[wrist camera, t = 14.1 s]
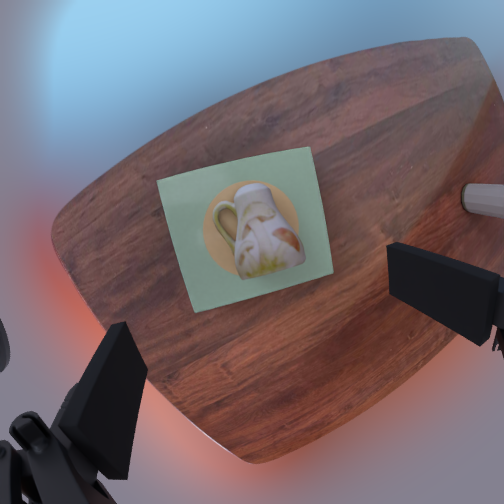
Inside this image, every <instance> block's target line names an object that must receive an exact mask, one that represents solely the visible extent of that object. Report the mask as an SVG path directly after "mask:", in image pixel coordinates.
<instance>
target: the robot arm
mask: <svg viewBox="0 0 504 504" xmlns="http://www.w3.org/2000/svg"><path fill="white" fill-rule="evenodd" d="M386 247H387V259H388V273H389V294H391V295H392V296H394V297H396V298H398V299H399V300H401V301H403V302H405V303H407V304H408V305H410V306H412V307H414V308H415V309H417V310H419V311H421V312H422V313H424V314H426V315H428V316H429V317H431V318H433V319H434V320H436V321H438V322H440V323H441V324H443V325H445V326H446V327H448V328H450V329H451V330H453V331H455V332H456V333H458V334H460V335H462V336H463V337H465V338H467V339H468V340H470V341H472V342H473V343H475V344H476V345H478V346H481V345H482V344H483V343H484V342H486V341H487V340H488V339H489V338H490V334H491V329H492V325H495V326H497V331H496V335H495V339H494V343H493V347H492V351H495V347H496V345H497V344H499V346H498V350H501V351H502V354H503V358H504V278H503V277H500V275H499V274H497V273H494V272H491V271H488V270H485V269H482V268H479V267H476V266H473V265H470V264H467V263H464V262H461V261H458V260H455V259H452V258H449V257H446V256H442V255H439V254H436V253H433V252H430V251H426V250H423V249H420V248H416V247H413V246H409V245H406V244H403V243H399V242H395V243H393V244H390V245H387V246H386ZM147 371H148V368H147V366H146V365H145V363H144V361H143V359H142V356H141V354H140V352H139V350H138V348H137V346H136V344H135V342H134V340H133V337H132V335H131V333H130V331H129V328H128V326H127V324H126V322H121V323H117V324H112V325H111V326H110V328H109V330H108V331H107V333H106V335H105V336H104V338H103V340H102V341H101V343H100V345H99V347H98V349H97V350H96V352H95V354H94V355H93V357H92V359H91V361H90V363H89V365H88V366H87V368H86V370H85V372H84V374H83V375H82V377H81V379H80V381H79V383H76V384H75V385H74V386H73V387H72V388H71V389H70V391H69V392H68V394H67V396H66V397H65V399H64V400H65V402H63V403H62V405H61V409H59V411H58V413H57V415H56V417H55V419H54V421H53V423H52V425H51V428H50V429H49V428H48V427H47V426H46V424H45V423H44V422H43V420H42V419H41V418H40V417H39V415H38V414H37V413H35V412H33V411H30V412H25V413H23V414H21V415H19V416H18V417H17V418H16V419H15V420H14V421H13V422H12V424H11V426H10V428H9V433H10V435H11V436H12V437H13V438H14V439H15V440H16V441H17V443H18V444H19V445H20V446H21V447H22V448H23V449H22V450H15V449H14V447H13V446H12V445H11V444H10V443H9V442H8V441H6V440H2V441H0V504H27V503H26V502H25V501H23V500H22V494H24V495H25V496H26V497H27V498H28V499H29V504H117V503H116V502H115V501H114V499H113V498H112V497H111V495H110V494H109V492H108V491H107V490H106V488H105V487H104V485H103V484H102V483H101V482H100V481H99V480H98V479H97V473H98V470H99V471H100V472H101V473H102V474H103V475H104V476H105V477H106V478H108V479H113V480H127V479H128V472H129V465H130V458H131V452H132V446H133V439H134V433H135V428H136V423H137V418H138V412H139V408H140V403H141V398H142V393H143V389H144V384H145V380H146V376H147Z"/></svg>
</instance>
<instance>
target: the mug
mask: <svg viewBox="0 0 504 504" xmlns="http://www.w3.org/2000/svg"><path fill="white" fill-rule="evenodd" d="M224 209H229V210H231V211H232V212H233V214H234V215H235V216H236V217H237V218H238V226H237V235H236V241H234V240H233V238H232V237H231V236H230V235H229V234H228V233H227V232H226V230H225V229H224V228H223V226H222V225H221V223H220V220H219V214H220V212H221V211H222V210H224ZM213 222H214V224H215V227H216V229H217V230H218V231H219V233H220V234H221V235H222V236H223V238H224V239H225V241H226V242H227V244H228V245H229V247H230V248H231V251H232V253H233V255H234V257H235V265H236V269H237V272H238V274H239V276H240V278H241V279H242V280H246V279H251V278H255V277H259V276H263V275H267V274H271V273H275V272H278V271H282V270H285V269H288V268H292V267H295V266H298V265H300V264H303V263H304V262H305V260H306V256H305V251H304V247H303V244H302V242H301V240H300V238H299V237H298V235H297V234H296V232H295V231H294V230H293V228H292V227H291V226H290V225H289V224H288V222H287V221H286V220H285V218H284V217H283V216H282V215H281V213H280V212H279V210H278V209H277V207H276V205H275V202H274V200H273V196H272V193H271V189H270V188H269V187H267V186H265V185H264V184H261V183H253V184H249V185H245V186H243V187H241V188H240V189H239V190H238V191H237V192H236V194H235V197H234V203H232V202H229V201H221V202H219V203H218V204H217V205H216V207H215V208H214V210H213Z"/></svg>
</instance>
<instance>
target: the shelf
mask: <svg viewBox="0 0 504 504" xmlns="http://www.w3.org/2000/svg"><path fill="white" fill-rule="evenodd" d="M253 183H261V184H264V185H265V186H267V187H269V188H270V189H271V193H272V196H273V200H274V202H275V205H276V207H277V209H278V210H279V212H280V213H281V215H282V216H283V217H284V218H285V220H286V221H287V222H288V224H289V225H290V226H291V227H292V228H293V230H294V231H295V232H296V234H297V235H298V237H299V238H300V240H301V242H302V244H303V247H304V251H305V256H306V260H305V262H304V263H303V264H300V265H298V266H295V267H292V268H288V269H285V270H282V271H278V272H275V273H271V274H267V275H263V276H259V277H255V278H251V279H246V280H242V279H241V278H240V276H239V274H238V272H237V269H236V265H235V257H234V255H233V253H232V251H231V248H230V247H229V245H228V244H227V242H226V241H225V239H224V238H223V236H222V235H221V234H220V233H219V231H218V230H217V229H216V227H215V224H214V222H213V210H214V208H215V207H216V205H217V204H218V203H219V202H221V201H229V202H232V203H234V197H235V194H236V192H237V191H238V190H239V189H240V188H241V187H243V186H245V185H249V184H253ZM157 185H158V189H159V193H160V197H161V201H162V205H163V209H164V213H165V217H166V220H167V224H168V228H169V231H170V235H171V239H172V242H173V246H174V249H175V252H176V256H177V259H178V263H179V266H180V269H181V272H182V276H183V279H184V282H185V285H186V288H187V291H188V294H189V297H190V300H191V303H192V306H193V309H194V312H195V313H197V312H201V311H205V310H209V309H213V308H216V307H220V306H224V305H227V304H231V303H235V302H238V301H242V300H246V299H249V298H253V297H256V296H260V295H263V294H267V293H270V292H273V291H277V290H280V289H284V288H287V287H290V286H293V285H297V284H300V283H303V282H307V281H310V280H313V279H316V278H319V277H322V276H326V275H329V274H332V273H334V272H333V265H332V259H331V252H330V246H329V239H328V233H327V228H326V222H325V216H324V211H323V206H322V200H321V195H320V190H319V186H318V181H317V176H316V171H315V167H314V162H313V158H312V154H311V150H310V147H303V148H297V149H291V150H285V151H279V152H274V153H268V154H263V155H258V156H253V157H248V158H244V159H239V160H234V161H230V162H226V163H221V164H217V165H213V166H209V167H205V168H201V169H197V170H193V171H189V172H186V173H182V174H178V175H175V176H171V177H168V178H164V179H161V180H158V181H157ZM219 220H220V223H221V225H222V226H223V228H224V229H225V230H226V232H227V233H228V234H229V235H230V236H231V237H232V238H233V240H234V241H236V235H237V226H238V218H237V217H236V216H235V215H234V214H233V212H232V211H231V210H229V209H224V210H222V211H221V212H220V214H219Z"/></svg>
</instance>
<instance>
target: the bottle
mask: <svg viewBox="0 0 504 504" xmlns="http://www.w3.org/2000/svg"><path fill="white" fill-rule="evenodd" d="M462 204H463V207H464V208H465V210H466V211H468V212H471V213H477V214H482V215H488V216H493V217H498V218H503V219H504V185H496V184H466V185H465V186H464V187H463V191H462Z"/></svg>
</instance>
